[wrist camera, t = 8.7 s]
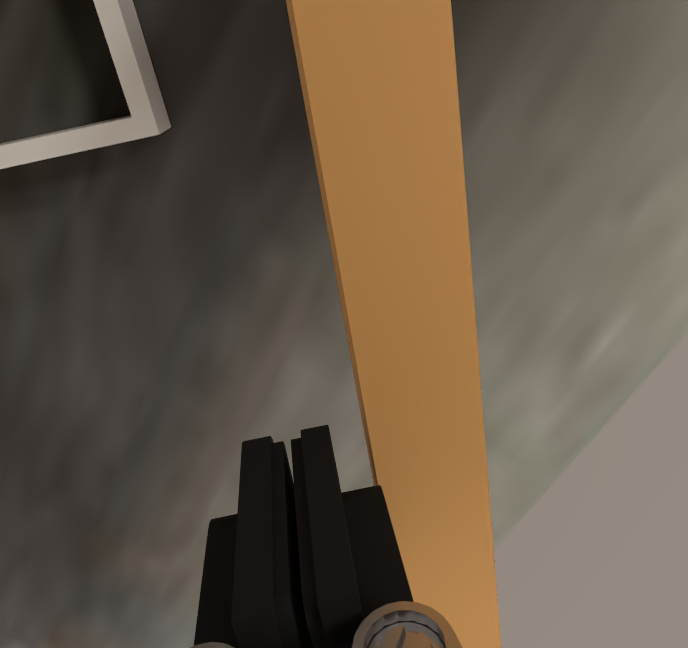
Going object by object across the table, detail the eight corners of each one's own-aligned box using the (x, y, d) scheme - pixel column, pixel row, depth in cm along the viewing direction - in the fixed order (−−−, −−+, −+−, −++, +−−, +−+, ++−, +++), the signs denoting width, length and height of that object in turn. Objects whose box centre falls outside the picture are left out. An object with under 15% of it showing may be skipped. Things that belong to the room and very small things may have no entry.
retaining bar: (72, -823, 6) (5, -1135, 4) (397, -859, 6) (441, -1173, 4) (375, 631, 14) (387, 696, 13) (503, 602, 14) (530, 663, 13)
